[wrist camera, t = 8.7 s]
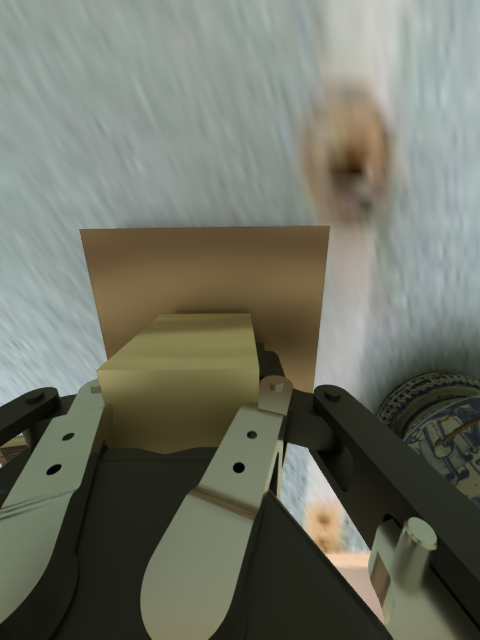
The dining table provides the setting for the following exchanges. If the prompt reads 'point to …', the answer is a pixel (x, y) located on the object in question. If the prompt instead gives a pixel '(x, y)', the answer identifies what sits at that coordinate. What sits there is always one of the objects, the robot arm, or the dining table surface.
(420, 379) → the decorative vase
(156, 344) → the maple block
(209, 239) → the block
